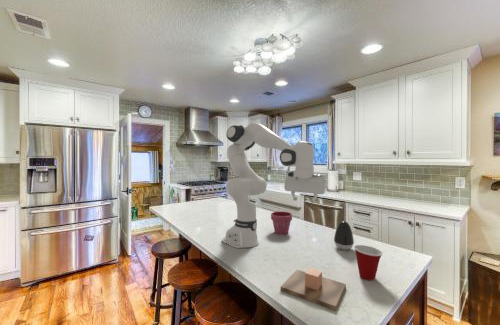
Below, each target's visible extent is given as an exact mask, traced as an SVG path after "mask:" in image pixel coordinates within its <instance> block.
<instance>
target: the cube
mask: <svg viewBox="0 0 500 325" xmlns="http://www.w3.org/2000/svg"><path fill="white" fill-rule="evenodd" d="M304 272H305V286H306V287H309V288H312V289H315V290H319V288H320V286H321V285H322V277H323V271H322V270H318V269H316V268H312V267H308V269H307V270H306V271H304Z"/></svg>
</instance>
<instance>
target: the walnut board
mask: <svg viewBox="0 0 500 325" xmlns="http://www.w3.org/2000/svg"><path fill="white" fill-rule="evenodd" d="M305 272H306V271H303V270H299V269H296V270H295V271H294V272H293V273H292V274H291V275H290V276H289V277H288V278H287V279H286V280H285V281H284V283H282V284H281V286H280V291H281V292H283V293H286V294H289V295H292V296H293V297H296V298H300V299H302V300H305V301H308V302H311V303H313V304H316V305H319V306H322V307H325V308H327V309H329V310H333V311H335V312H336V311H337V310H338V307H339V304H340V302H341V299H342V297H343V294H344V293H345V291H346V288H347V284H346V283H344V282H340V281H337V280H333V279H330V278H327V277H324V276H322V285H321V286H320V288H319V290H315V289H312V288H309V287H306V286H305Z"/></svg>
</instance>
